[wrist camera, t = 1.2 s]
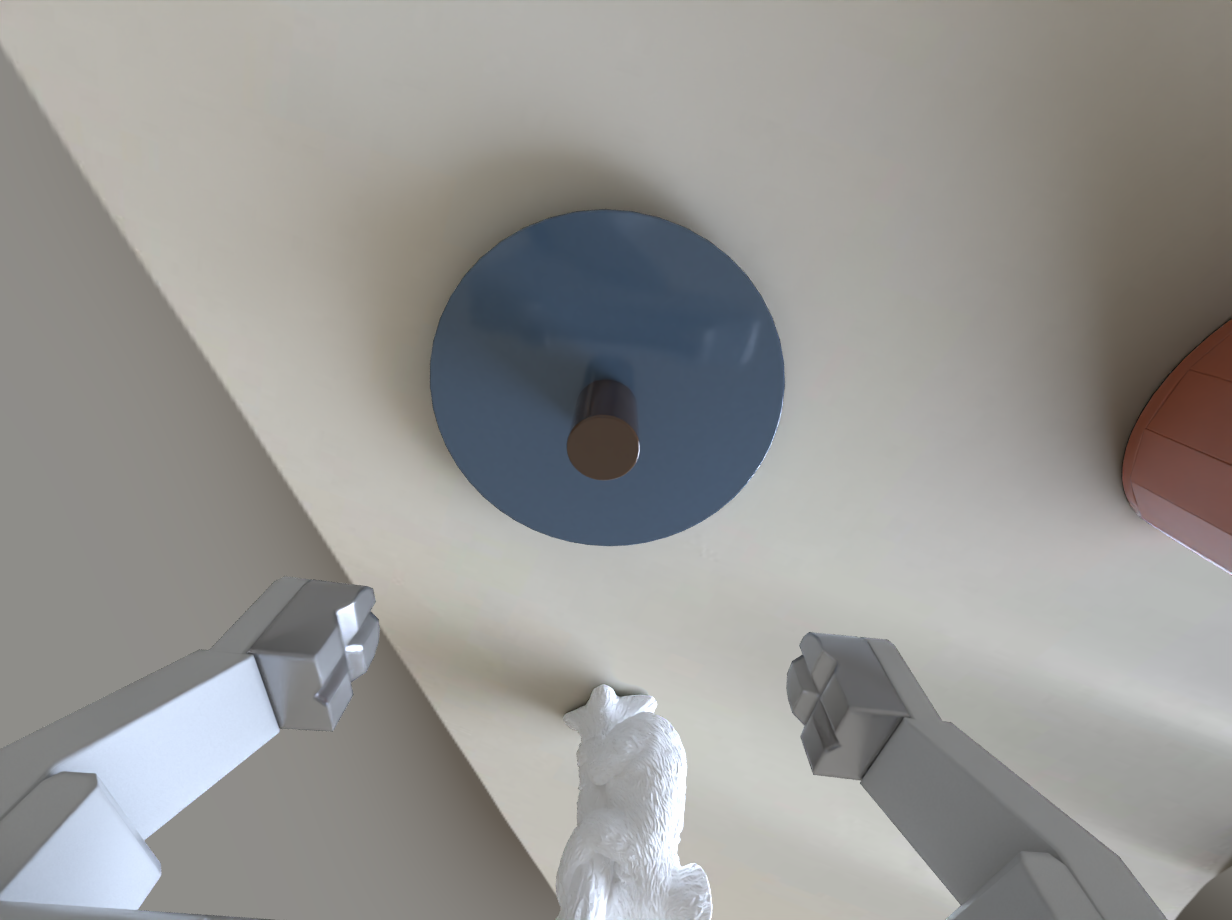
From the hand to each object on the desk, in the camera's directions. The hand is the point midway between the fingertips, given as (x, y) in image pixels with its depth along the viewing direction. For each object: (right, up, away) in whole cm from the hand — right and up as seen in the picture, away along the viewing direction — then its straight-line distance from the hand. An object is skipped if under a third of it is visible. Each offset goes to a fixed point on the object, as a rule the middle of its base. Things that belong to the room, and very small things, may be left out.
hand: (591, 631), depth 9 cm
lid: (0, +6, +10) cm, 11 cm away
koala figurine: (+1, -12, +20) cm, 23 cm away
